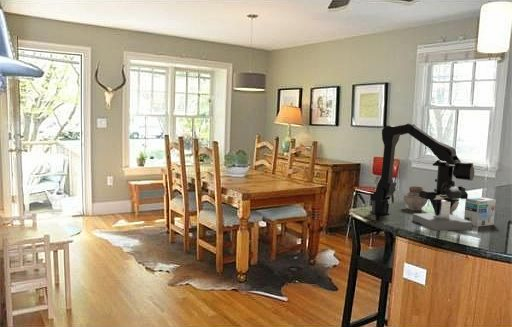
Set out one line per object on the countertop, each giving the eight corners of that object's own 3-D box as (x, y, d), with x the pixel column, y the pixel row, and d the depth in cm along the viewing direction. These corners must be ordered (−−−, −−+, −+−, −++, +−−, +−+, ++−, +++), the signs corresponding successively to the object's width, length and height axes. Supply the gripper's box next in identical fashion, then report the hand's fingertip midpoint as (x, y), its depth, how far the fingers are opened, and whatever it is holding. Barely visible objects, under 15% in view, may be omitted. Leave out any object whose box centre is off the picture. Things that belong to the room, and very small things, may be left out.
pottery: (453, 218, 189) (455, 191, 187) (398, 209, 205) (400, 184, 204) (461, 214, 197) (463, 188, 196) (407, 206, 213) (409, 182, 212)
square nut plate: (435, 230, 166) (436, 223, 166) (412, 220, 182) (413, 213, 181) (471, 229, 169) (472, 222, 169) (446, 219, 185) (446, 213, 185)
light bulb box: (477, 227, 174) (479, 201, 173) (462, 223, 180) (464, 197, 179) (494, 224, 179) (496, 199, 178) (479, 221, 185) (481, 196, 184)
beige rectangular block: (440, 221, 173) (441, 202, 172) (434, 219, 177) (435, 200, 176) (449, 221, 174) (450, 201, 173) (442, 218, 178) (444, 200, 177)
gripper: (436, 180, 164) (433, 220, 165) (478, 180, 167) (475, 219, 169) (419, 176, 175) (416, 214, 176) (460, 176, 178) (457, 213, 180)
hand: (441, 215), depth 175 cm, fingers closed on beige rectangular block, 4 cm apart
